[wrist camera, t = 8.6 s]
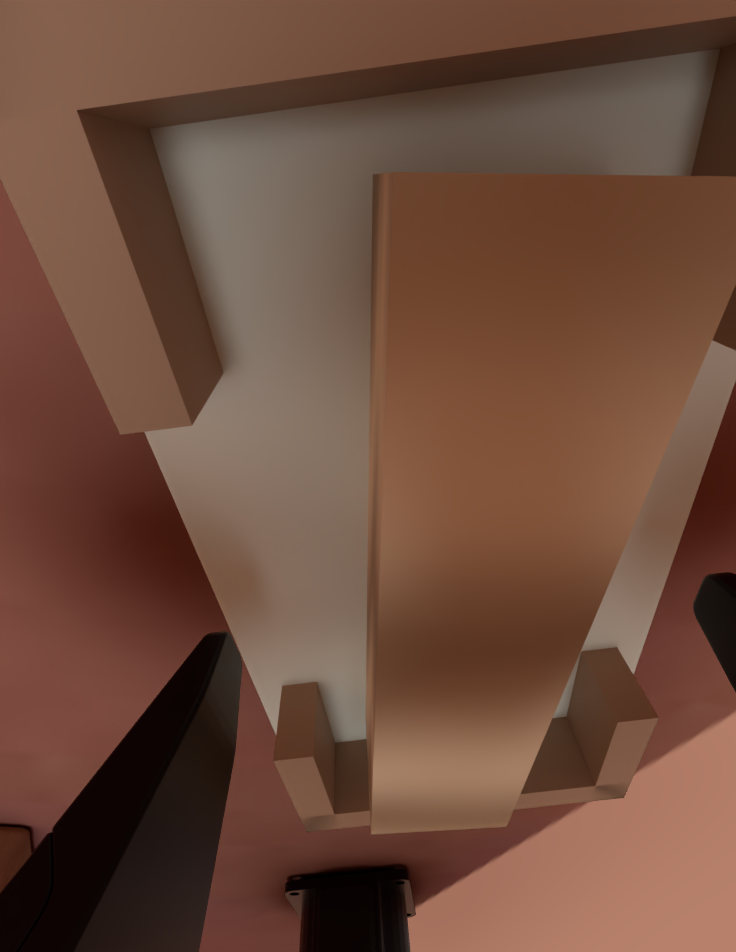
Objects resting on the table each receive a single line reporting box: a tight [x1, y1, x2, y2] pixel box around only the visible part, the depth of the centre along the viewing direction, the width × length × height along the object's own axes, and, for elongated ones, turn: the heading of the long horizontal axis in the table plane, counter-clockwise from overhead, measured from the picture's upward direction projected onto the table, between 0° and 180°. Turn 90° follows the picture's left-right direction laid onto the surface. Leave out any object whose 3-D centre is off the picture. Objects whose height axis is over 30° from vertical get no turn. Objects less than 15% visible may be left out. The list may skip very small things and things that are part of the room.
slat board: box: [0, 0, 736, 832], centre depth 10 cm, size 22×11×3 cm, turn 7°
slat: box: [365, 172, 736, 834], centre depth 9 cm, size 14×4×3 cm, turn 179°
